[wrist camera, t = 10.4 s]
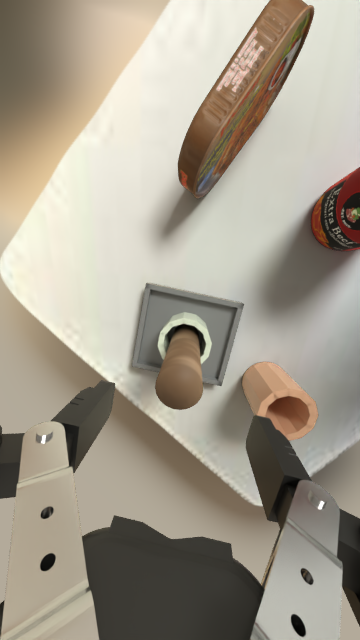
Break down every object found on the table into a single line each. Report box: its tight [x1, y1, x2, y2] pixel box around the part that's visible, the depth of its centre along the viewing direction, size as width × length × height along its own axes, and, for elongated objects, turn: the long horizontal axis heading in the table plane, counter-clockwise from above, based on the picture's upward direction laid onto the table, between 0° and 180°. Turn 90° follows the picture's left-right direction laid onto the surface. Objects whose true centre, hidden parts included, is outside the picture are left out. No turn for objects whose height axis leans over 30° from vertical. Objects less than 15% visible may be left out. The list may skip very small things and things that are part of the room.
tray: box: [132, 283, 244, 386], centre depth 26 cm, size 12×11×2 cm
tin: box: [178, 0, 314, 199], centre depth 19 cm, size 15×3×8 cm, turn 142°
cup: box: [242, 362, 318, 441], centre depth 25 cm, size 6×6×7 cm
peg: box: [155, 324, 203, 410], centre depth 20 cm, size 3×3×13 cm
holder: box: [158, 312, 212, 364], centre depth 24 cm, size 6×6×4 cm
